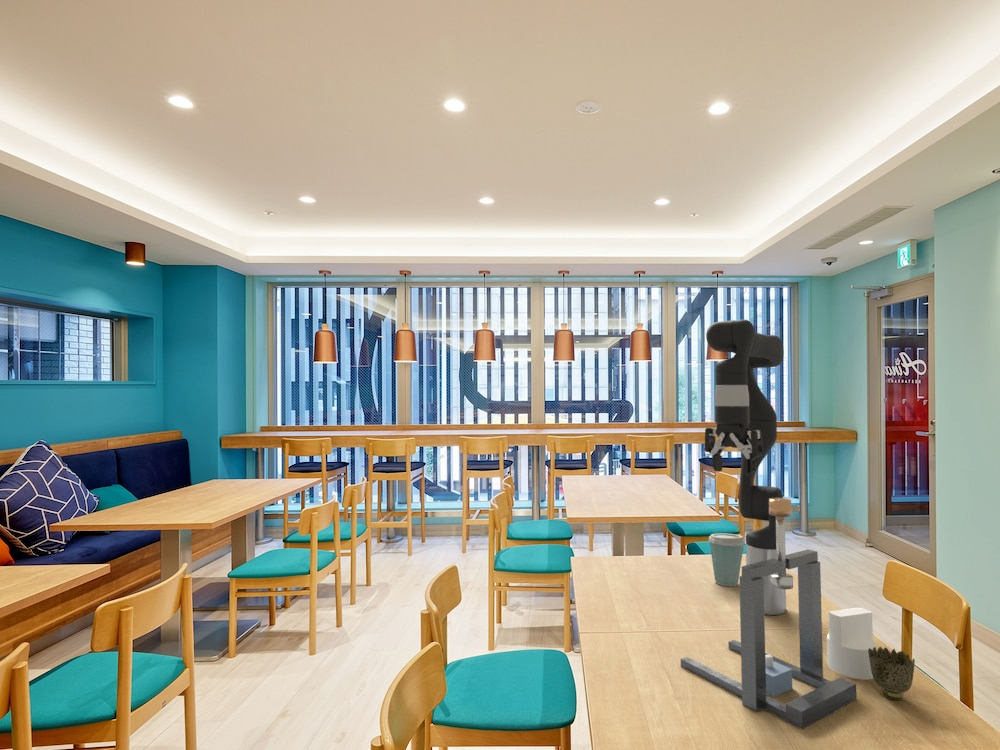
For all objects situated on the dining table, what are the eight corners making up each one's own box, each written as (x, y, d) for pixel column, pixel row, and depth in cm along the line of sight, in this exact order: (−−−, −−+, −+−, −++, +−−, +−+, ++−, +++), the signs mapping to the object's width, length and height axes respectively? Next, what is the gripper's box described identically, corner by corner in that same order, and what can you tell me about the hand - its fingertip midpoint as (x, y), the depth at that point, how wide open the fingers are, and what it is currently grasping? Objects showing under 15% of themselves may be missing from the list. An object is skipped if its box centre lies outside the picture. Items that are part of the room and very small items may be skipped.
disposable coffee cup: (701, 580, 177) (700, 532, 178) (726, 575, 182) (725, 528, 182) (727, 591, 167) (727, 540, 168) (753, 585, 172) (752, 536, 172)
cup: (924, 709, 105) (922, 665, 105) (879, 705, 106) (878, 662, 106) (903, 688, 112) (902, 647, 112) (862, 685, 113) (861, 644, 114)
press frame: (739, 644, 132) (737, 532, 133) (862, 696, 109) (858, 561, 110) (674, 668, 121) (672, 546, 122) (795, 732, 98) (791, 581, 99)
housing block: (765, 676, 117) (764, 647, 118) (792, 689, 112) (791, 658, 113) (746, 684, 114) (746, 654, 115) (773, 697, 109) (773, 666, 110)
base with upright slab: (853, 682, 115) (851, 622, 115) (817, 662, 123) (816, 606, 124) (887, 676, 117) (886, 617, 117) (850, 656, 126) (848, 602, 126)
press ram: (778, 581, 114) (776, 497, 115) (797, 586, 111) (795, 500, 112) (766, 584, 112) (764, 499, 113) (785, 590, 109) (783, 502, 110)
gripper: (769, 404, 129) (770, 475, 129) (716, 403, 142) (718, 468, 141) (748, 405, 125) (750, 478, 125) (696, 404, 138) (698, 470, 137)
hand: (733, 473), depth 133 cm, fingers open, 8 cm apart
